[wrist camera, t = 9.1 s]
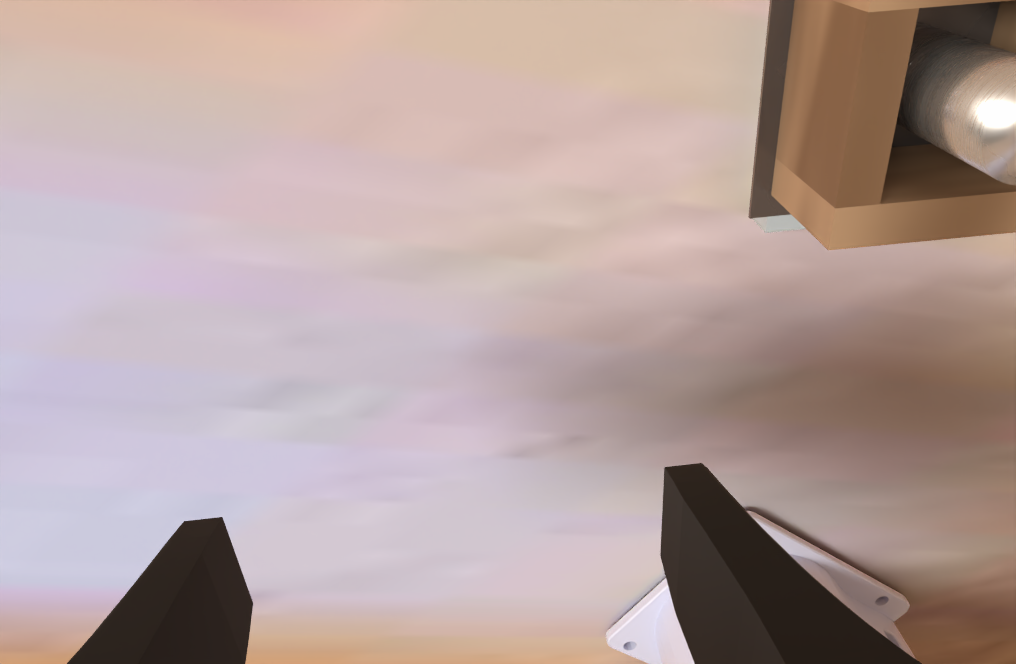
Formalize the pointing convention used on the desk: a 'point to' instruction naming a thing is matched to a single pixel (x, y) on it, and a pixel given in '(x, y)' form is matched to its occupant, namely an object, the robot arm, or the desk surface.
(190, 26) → the desk surface
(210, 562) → the robot arm
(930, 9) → the post
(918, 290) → the desk surface
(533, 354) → the desk surface
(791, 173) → the collar
